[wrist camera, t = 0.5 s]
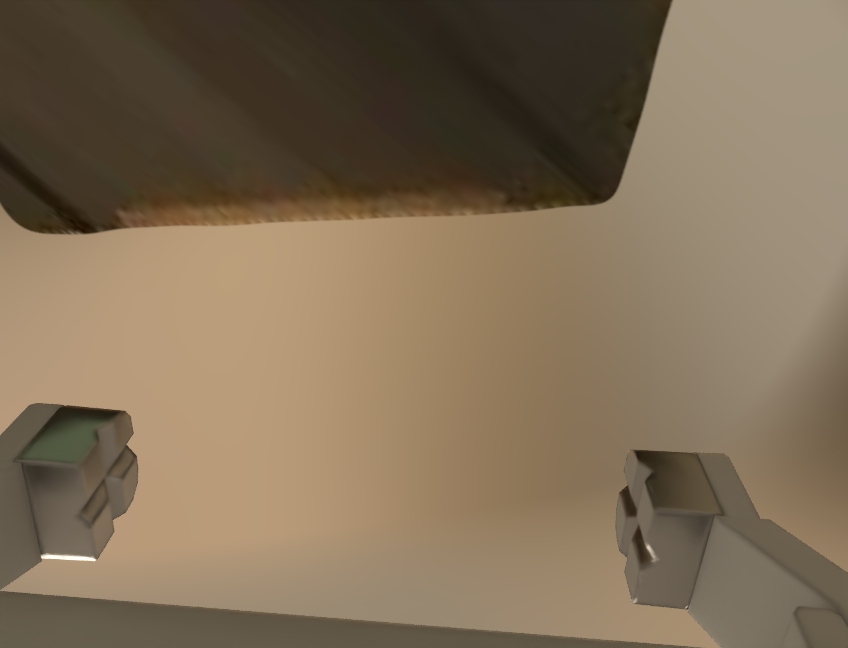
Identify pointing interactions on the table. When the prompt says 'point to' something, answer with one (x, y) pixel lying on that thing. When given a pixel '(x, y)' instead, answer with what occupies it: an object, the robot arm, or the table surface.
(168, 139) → the table surface
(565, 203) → the table surface
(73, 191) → the table surface
